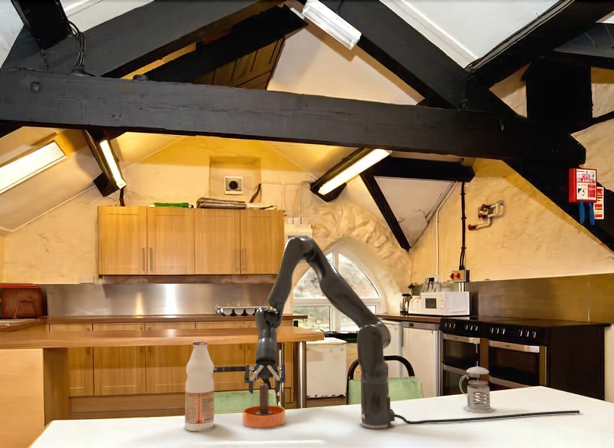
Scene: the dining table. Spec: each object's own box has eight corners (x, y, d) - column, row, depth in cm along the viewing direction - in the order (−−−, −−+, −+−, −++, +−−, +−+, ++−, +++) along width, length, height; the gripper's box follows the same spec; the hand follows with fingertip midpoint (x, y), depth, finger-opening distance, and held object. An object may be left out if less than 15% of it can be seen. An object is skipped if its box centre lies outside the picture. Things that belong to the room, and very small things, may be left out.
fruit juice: (182, 432, 168) (183, 343, 171) (187, 423, 178) (188, 339, 180) (211, 431, 169) (212, 342, 171) (215, 423, 178) (216, 339, 181)
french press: (497, 412, 189) (494, 341, 191) (464, 413, 189) (462, 342, 191) (488, 406, 198) (485, 338, 201) (457, 406, 199) (454, 338, 201)
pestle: (272, 419, 179) (272, 381, 180) (271, 423, 174) (271, 384, 175) (256, 419, 179) (256, 381, 180) (255, 424, 174) (255, 384, 175)
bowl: (285, 418, 184) (285, 405, 184) (284, 430, 169) (284, 415, 170) (244, 418, 183) (245, 405, 184) (240, 430, 169) (240, 416, 170)
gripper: (246, 346, 189) (242, 386, 176) (285, 346, 189) (285, 385, 176) (247, 359, 193) (244, 398, 181) (286, 359, 194) (285, 398, 181)
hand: (264, 392), depth 179 cm, fingers open, 8 cm apart
